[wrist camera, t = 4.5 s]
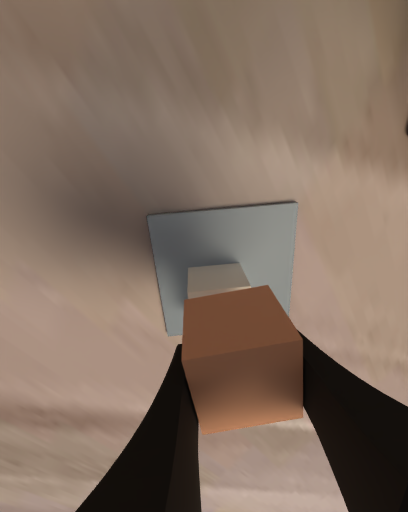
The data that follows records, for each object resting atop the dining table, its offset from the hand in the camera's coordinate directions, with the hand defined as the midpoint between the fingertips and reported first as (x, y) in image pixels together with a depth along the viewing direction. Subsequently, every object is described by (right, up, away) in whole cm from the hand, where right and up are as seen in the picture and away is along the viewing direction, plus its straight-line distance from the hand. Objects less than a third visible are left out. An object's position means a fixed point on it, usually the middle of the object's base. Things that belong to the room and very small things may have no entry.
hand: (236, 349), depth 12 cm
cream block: (-1, +2, +9) cm, 9 cm away
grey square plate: (0, +3, +9) cm, 10 cm away
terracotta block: (0, +1, +1) cm, 2 cm away
